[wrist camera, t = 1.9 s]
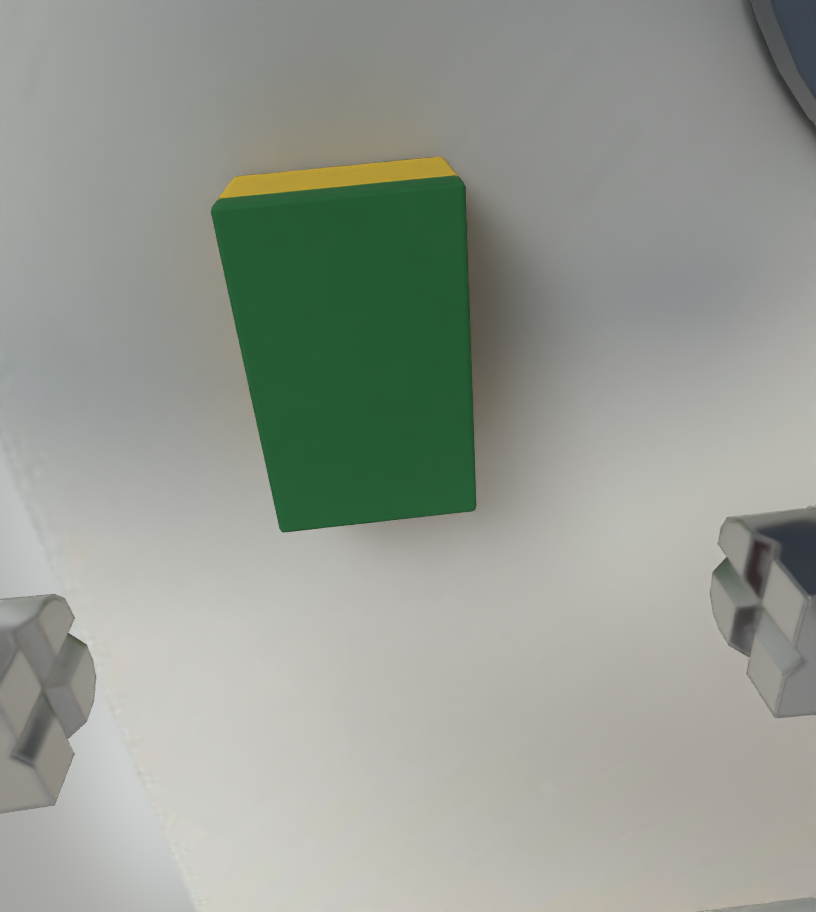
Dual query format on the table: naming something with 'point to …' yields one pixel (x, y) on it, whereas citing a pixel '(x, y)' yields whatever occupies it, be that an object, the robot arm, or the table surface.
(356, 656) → the table surface
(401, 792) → the table surface
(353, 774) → the table surface
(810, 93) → the plate
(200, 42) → the table surface
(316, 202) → the sponge
